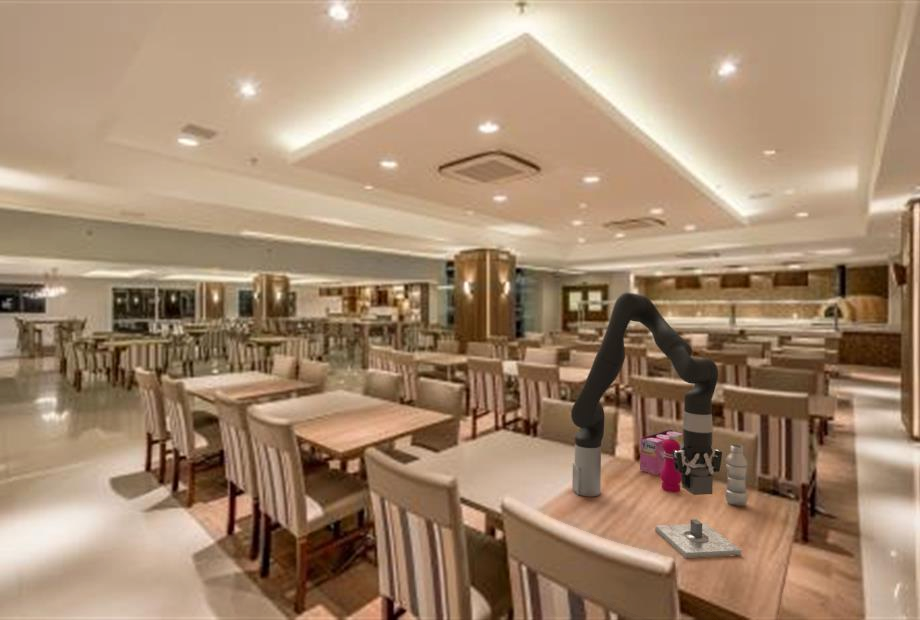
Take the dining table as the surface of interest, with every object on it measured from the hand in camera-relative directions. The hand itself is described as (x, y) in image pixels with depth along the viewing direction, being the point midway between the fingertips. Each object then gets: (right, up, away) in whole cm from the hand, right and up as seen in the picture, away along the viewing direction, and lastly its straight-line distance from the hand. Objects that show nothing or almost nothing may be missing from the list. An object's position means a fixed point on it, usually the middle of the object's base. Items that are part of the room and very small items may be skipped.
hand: (697, 486), depth 137 cm
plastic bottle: (+27, -16, +27) cm, 41 cm away
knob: (0, -1, 0) cm, 1 cm away
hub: (0, -16, 0) cm, 16 cm away
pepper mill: (+10, -16, +40) cm, 44 cm away
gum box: (+17, -16, +63) cm, 67 cm away
